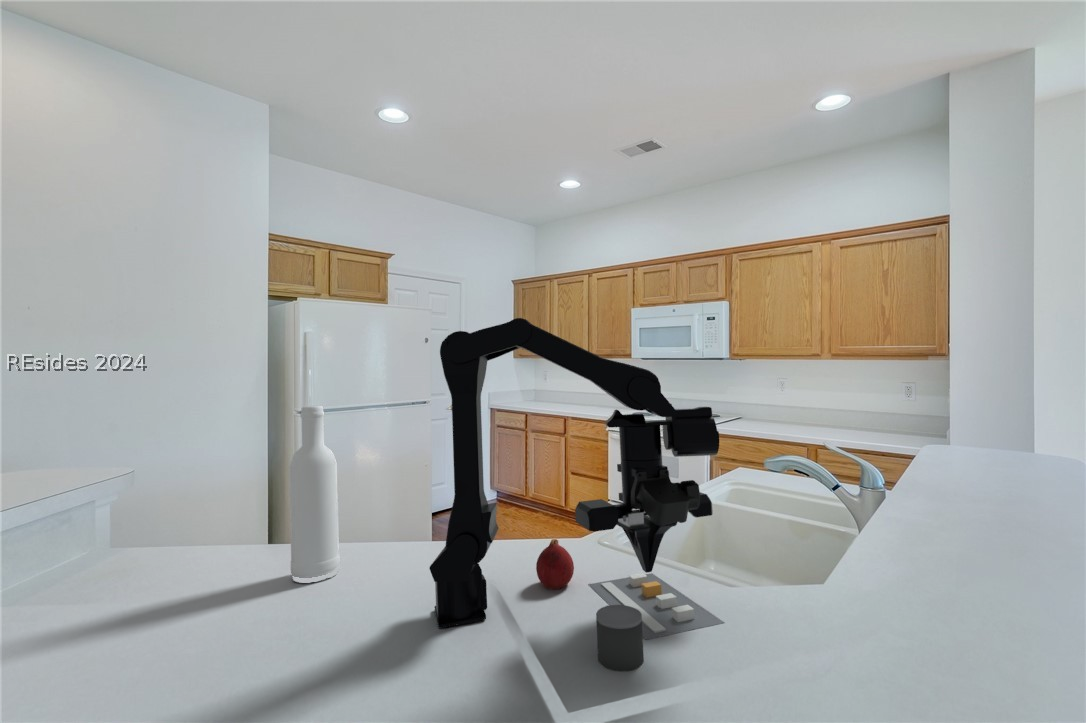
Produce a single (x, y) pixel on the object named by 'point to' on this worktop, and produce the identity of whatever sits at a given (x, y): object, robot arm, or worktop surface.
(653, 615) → the panel
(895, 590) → the worktop surface
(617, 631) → the canister
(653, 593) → the block
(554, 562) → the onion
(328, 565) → the bottle
